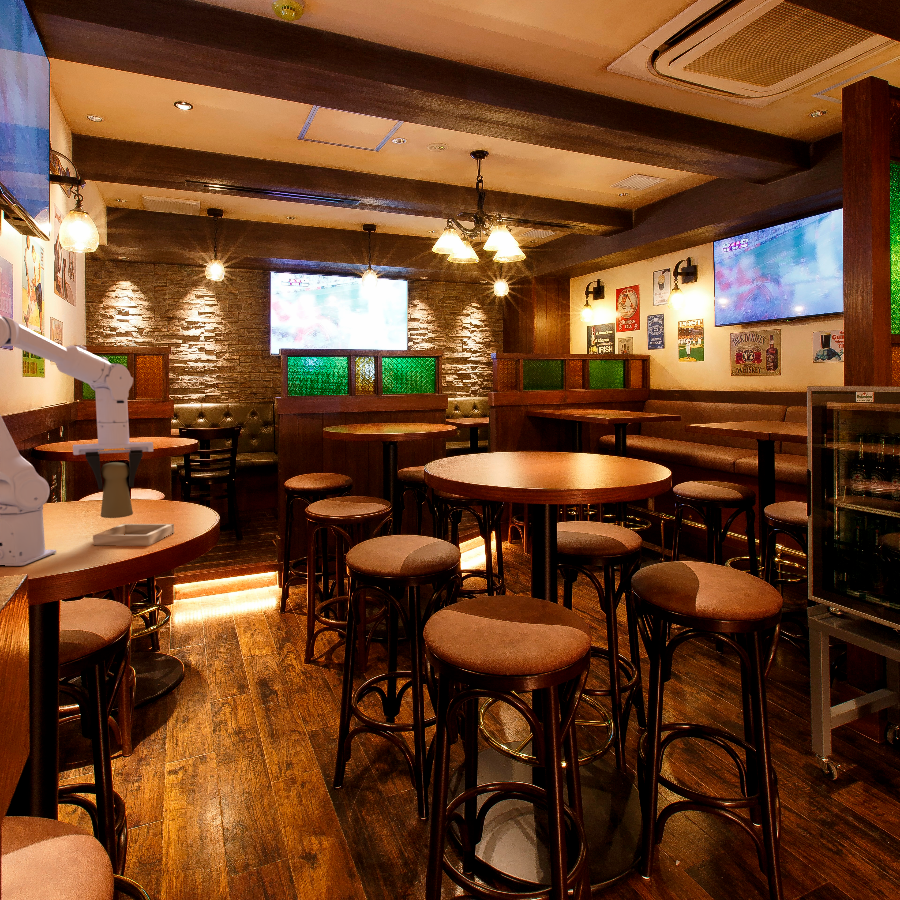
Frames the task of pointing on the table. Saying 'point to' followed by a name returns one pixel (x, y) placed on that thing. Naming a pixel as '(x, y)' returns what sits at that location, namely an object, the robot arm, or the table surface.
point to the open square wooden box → (119, 539)
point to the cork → (115, 491)
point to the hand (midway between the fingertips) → (116, 487)
